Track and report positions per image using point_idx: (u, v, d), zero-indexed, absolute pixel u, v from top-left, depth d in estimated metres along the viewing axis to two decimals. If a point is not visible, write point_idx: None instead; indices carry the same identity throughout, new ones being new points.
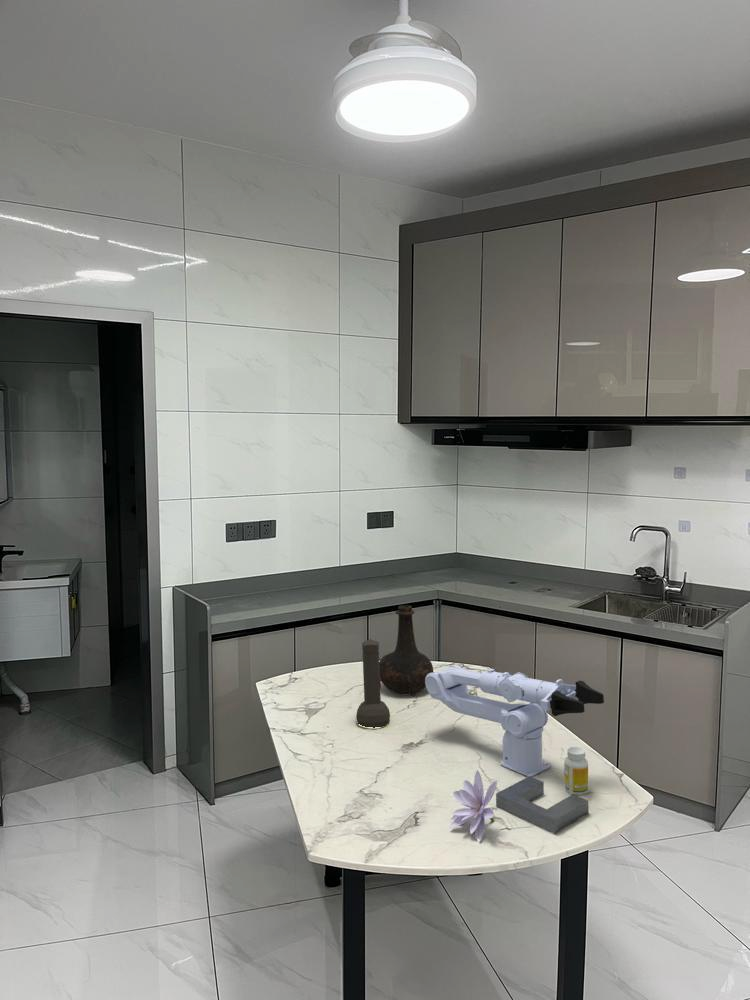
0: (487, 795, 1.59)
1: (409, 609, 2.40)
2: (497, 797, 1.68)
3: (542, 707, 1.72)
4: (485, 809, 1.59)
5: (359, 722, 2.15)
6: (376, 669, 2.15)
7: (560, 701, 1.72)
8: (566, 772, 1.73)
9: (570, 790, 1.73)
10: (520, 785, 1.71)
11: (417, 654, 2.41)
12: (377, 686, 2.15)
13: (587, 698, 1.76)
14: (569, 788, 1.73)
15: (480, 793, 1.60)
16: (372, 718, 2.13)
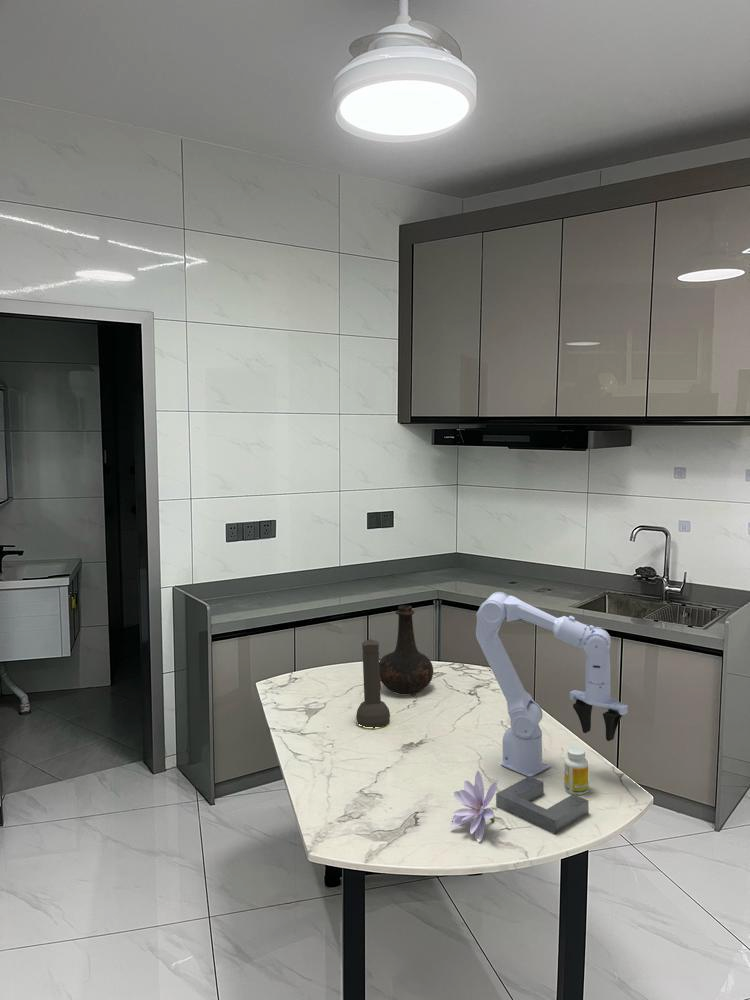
0: (487, 795, 1.59)
1: (409, 609, 2.40)
2: (497, 797, 1.68)
3: (623, 709, 1.73)
4: (485, 809, 1.59)
5: (359, 722, 2.15)
6: (376, 669, 2.15)
7: None
8: (566, 772, 1.73)
9: (570, 790, 1.73)
10: (520, 785, 1.71)
11: (417, 654, 2.41)
12: (377, 686, 2.15)
13: (585, 716, 1.81)
14: (569, 788, 1.73)
15: (480, 793, 1.60)
16: (372, 718, 2.13)
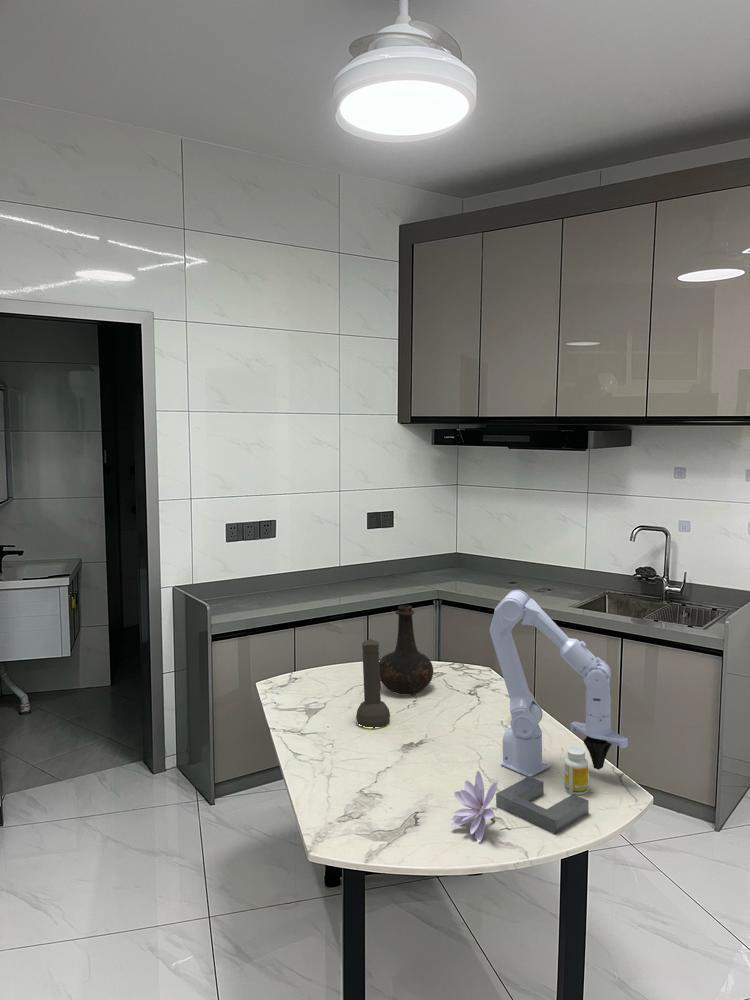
0: (488, 796, 1.59)
1: (409, 609, 2.40)
2: (497, 797, 1.68)
3: (624, 742, 1.73)
4: (486, 810, 1.59)
5: (359, 722, 2.15)
6: (376, 669, 2.15)
7: None
8: (566, 772, 1.73)
9: (570, 790, 1.73)
10: (520, 785, 1.71)
11: (417, 654, 2.41)
12: (377, 686, 2.15)
13: None
14: (569, 788, 1.73)
15: (481, 794, 1.60)
16: (372, 718, 2.13)
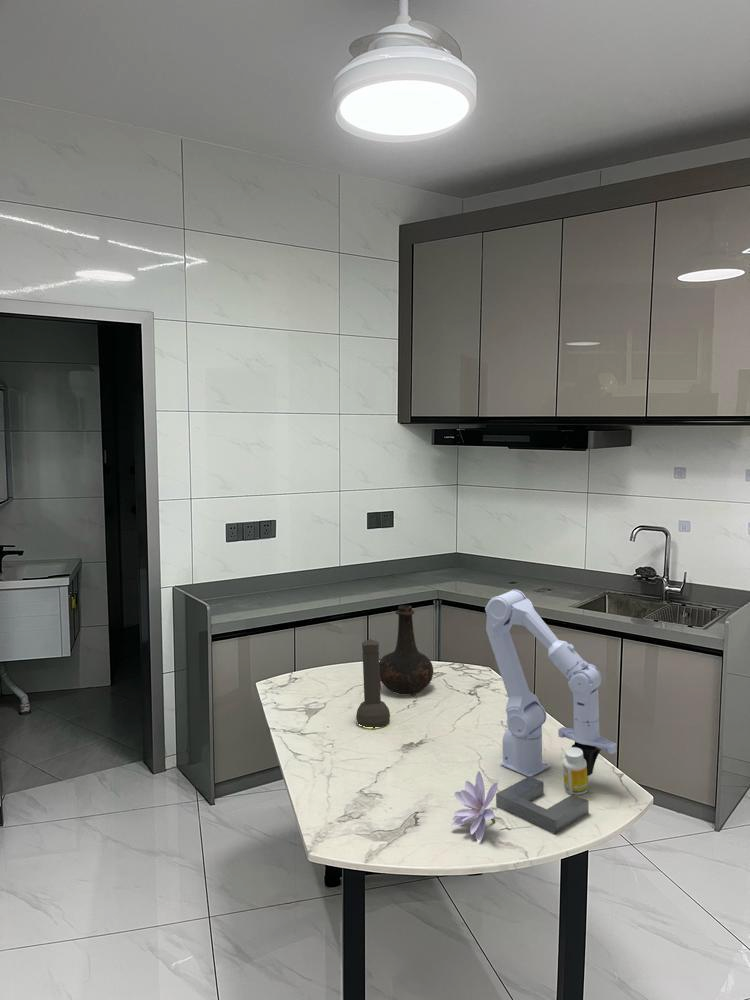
0: (488, 796, 1.59)
1: (409, 609, 2.40)
2: (497, 797, 1.68)
3: (612, 747, 1.70)
4: (486, 810, 1.59)
5: (359, 722, 2.15)
6: (376, 669, 2.15)
7: None
8: (565, 773, 1.73)
9: (570, 790, 1.73)
10: (520, 785, 1.71)
11: (417, 654, 2.41)
12: (377, 686, 2.15)
13: None
14: (568, 788, 1.73)
15: (481, 794, 1.59)
16: (372, 718, 2.13)
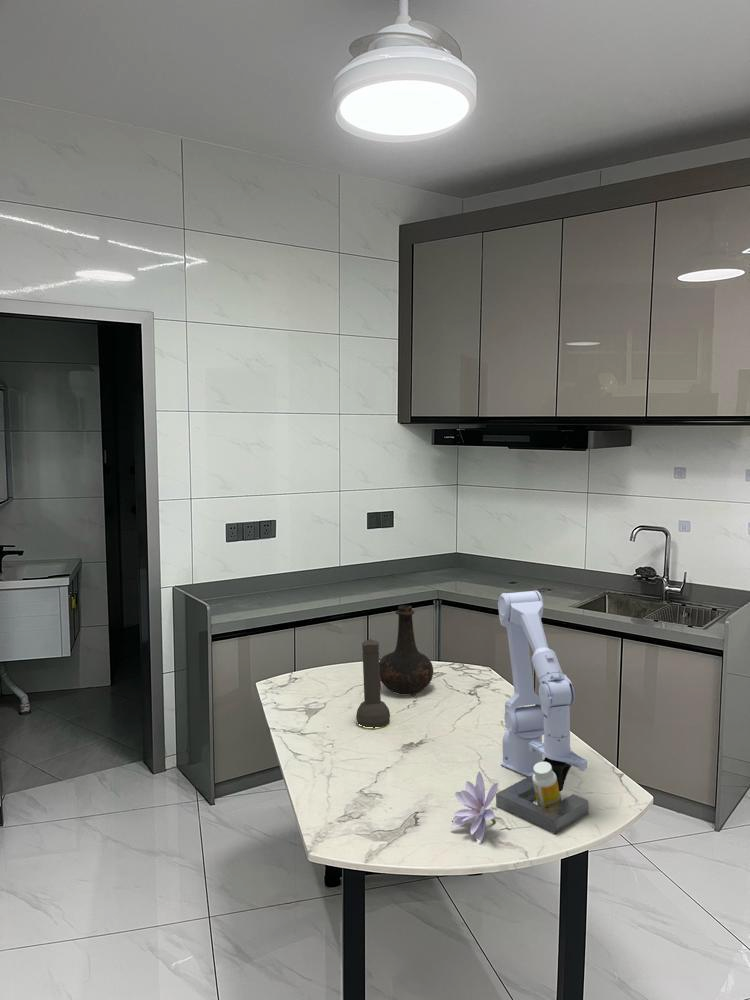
0: (488, 796, 1.59)
1: (409, 609, 2.40)
2: (497, 797, 1.68)
3: (583, 764, 1.63)
4: (486, 810, 1.59)
5: (359, 722, 2.15)
6: (376, 669, 2.15)
7: None
8: (535, 790, 1.66)
9: None
10: (520, 785, 1.71)
11: (417, 654, 2.41)
12: (377, 686, 2.15)
13: None
14: (540, 804, 1.66)
15: (481, 794, 1.59)
16: (372, 718, 2.13)
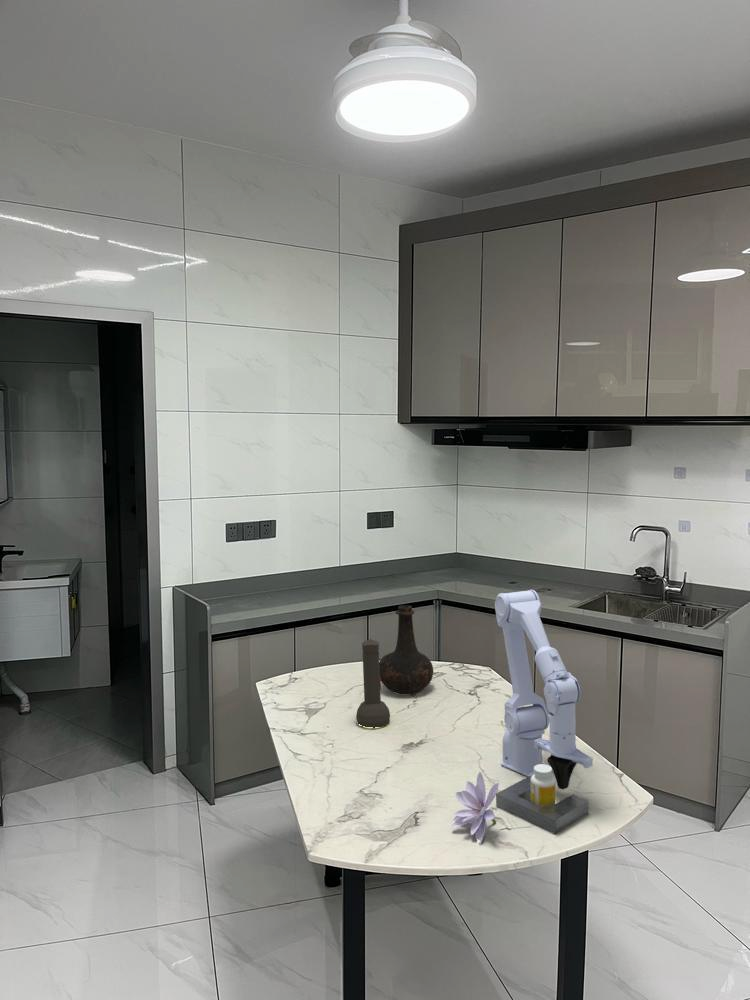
0: (489, 797, 1.59)
1: (409, 609, 2.40)
2: (497, 797, 1.68)
3: (588, 761, 1.64)
4: (486, 811, 1.58)
5: (359, 722, 2.15)
6: (376, 669, 2.15)
7: None
8: (532, 791, 1.65)
9: None
10: (520, 785, 1.71)
11: (417, 654, 2.41)
12: (377, 686, 2.15)
13: None
14: None
15: (482, 794, 1.59)
16: (372, 718, 2.13)
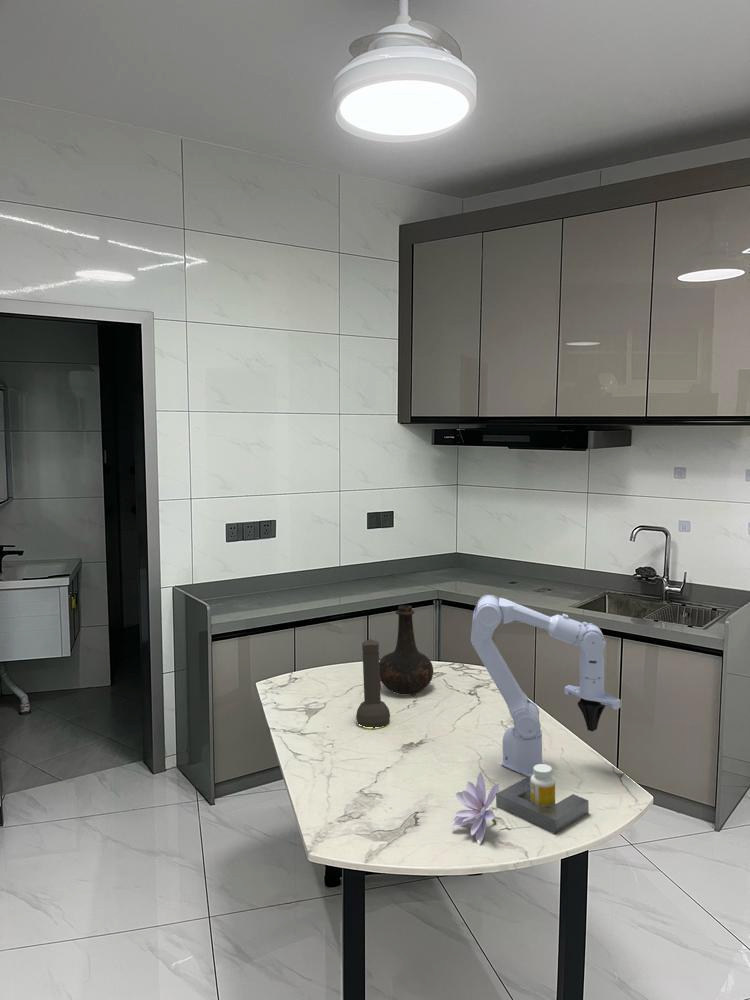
0: (489, 797, 1.59)
1: (409, 609, 2.40)
2: (497, 797, 1.68)
3: (617, 703, 1.76)
4: (487, 811, 1.58)
5: (359, 722, 2.15)
6: (376, 669, 2.15)
7: None
8: (532, 791, 1.65)
9: None
10: (520, 785, 1.71)
11: (417, 654, 2.41)
12: (377, 686, 2.15)
13: None
14: None
15: (482, 795, 1.59)
16: (372, 718, 2.13)
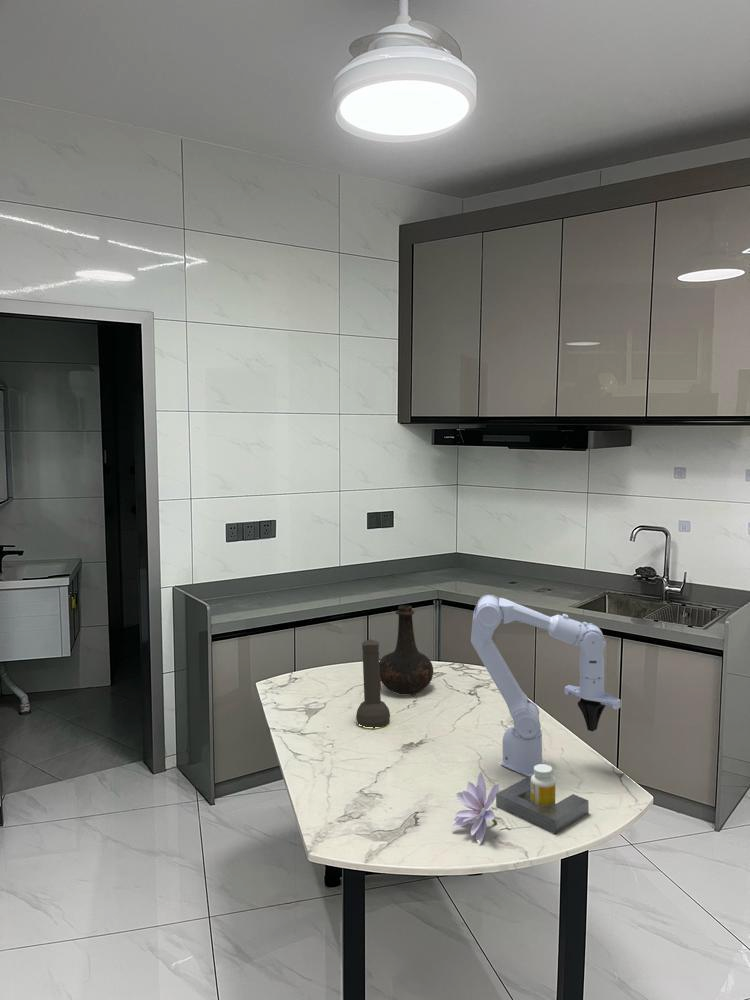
0: (489, 797, 1.58)
1: (409, 609, 2.40)
2: (497, 797, 1.68)
3: (617, 703, 1.76)
4: (487, 811, 1.58)
5: (359, 722, 2.15)
6: (376, 669, 2.15)
7: None
8: (532, 791, 1.65)
9: None
10: (520, 785, 1.71)
11: (417, 654, 2.41)
12: (377, 686, 2.15)
13: None
14: None
15: (482, 795, 1.59)
16: (372, 718, 2.13)
